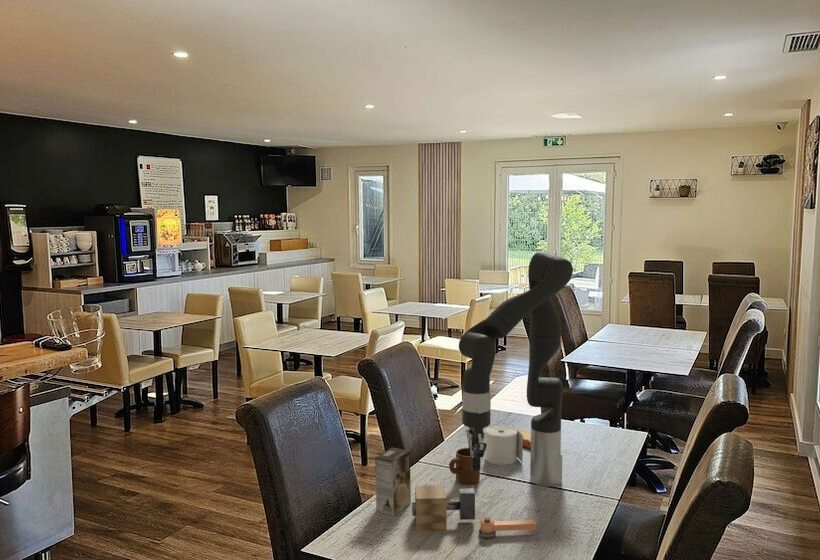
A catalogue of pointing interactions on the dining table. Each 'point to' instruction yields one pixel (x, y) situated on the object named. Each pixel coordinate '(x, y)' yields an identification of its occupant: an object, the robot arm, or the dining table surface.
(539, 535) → the dining table surface
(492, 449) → the toilet tissue
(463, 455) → the mug
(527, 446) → the slice of bread
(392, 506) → the coffee box
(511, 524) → the latch bar
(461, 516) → the dark grey hammer
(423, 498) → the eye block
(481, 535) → the dark grey puck
